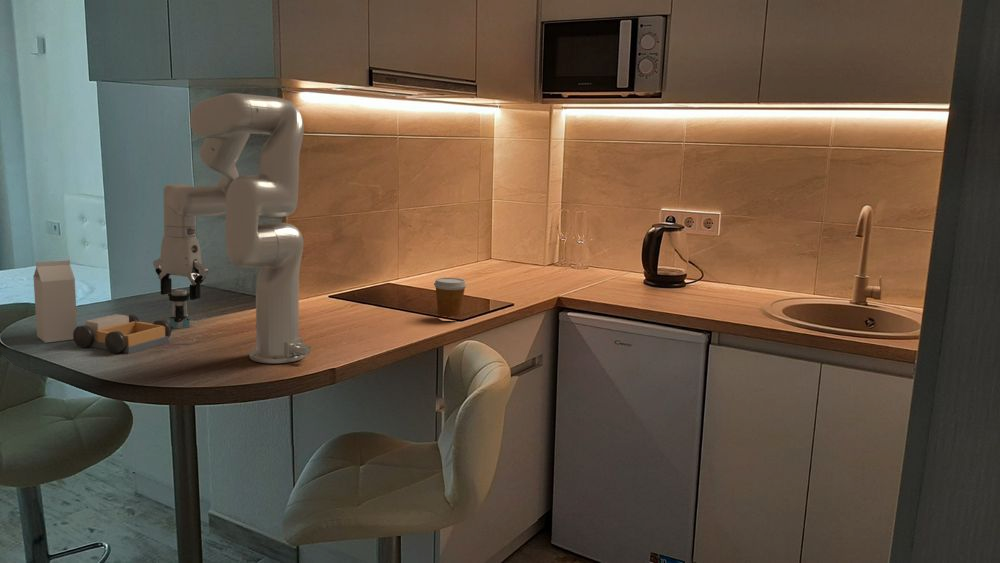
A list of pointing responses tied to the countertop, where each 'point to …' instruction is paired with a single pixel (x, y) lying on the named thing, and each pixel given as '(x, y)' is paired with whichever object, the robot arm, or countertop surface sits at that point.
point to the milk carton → (55, 301)
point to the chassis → (122, 333)
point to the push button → (179, 309)
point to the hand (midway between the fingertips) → (180, 296)
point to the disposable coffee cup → (449, 296)
